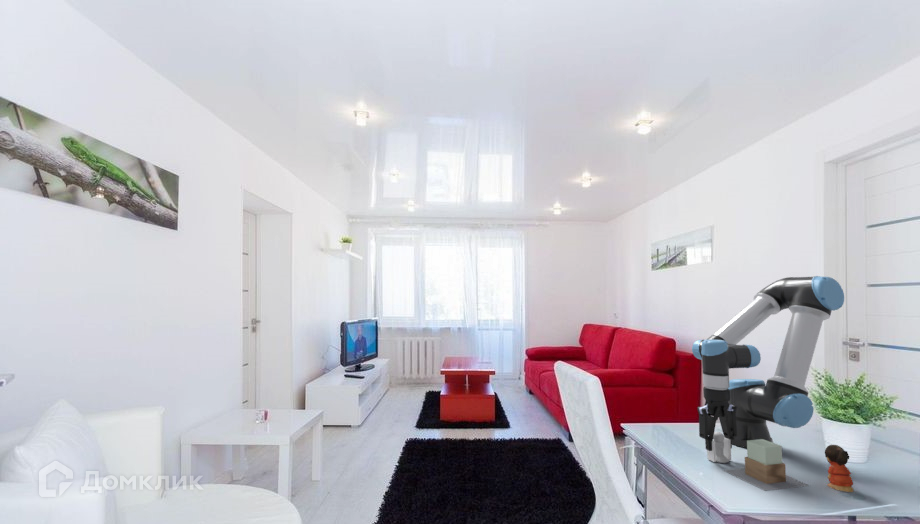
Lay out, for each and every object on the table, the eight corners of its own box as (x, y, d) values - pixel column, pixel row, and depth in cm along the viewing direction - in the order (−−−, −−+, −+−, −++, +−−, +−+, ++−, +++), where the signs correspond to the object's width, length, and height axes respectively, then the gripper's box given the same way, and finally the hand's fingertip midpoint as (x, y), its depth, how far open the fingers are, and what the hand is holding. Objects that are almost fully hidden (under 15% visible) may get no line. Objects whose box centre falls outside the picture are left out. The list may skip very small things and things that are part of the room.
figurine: (860, 493, 120) (858, 448, 121) (846, 495, 118) (844, 450, 119) (835, 483, 126) (833, 441, 127) (821, 485, 124) (819, 442, 125)
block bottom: (763, 471, 133) (763, 455, 133) (785, 481, 126) (785, 463, 126) (745, 473, 131) (744, 456, 131) (766, 483, 124) (766, 465, 124)
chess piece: (706, 458, 143) (705, 430, 144) (718, 456, 145) (717, 429, 145) (720, 464, 138) (719, 435, 139) (732, 462, 140) (731, 434, 140)
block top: (763, 455, 132) (762, 439, 133) (782, 463, 126) (781, 445, 127) (747, 457, 131) (746, 440, 131) (765, 465, 125) (765, 447, 125)
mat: (765, 467, 137) (765, 466, 137) (810, 486, 123) (810, 485, 123) (723, 471, 133) (723, 470, 133) (765, 492, 120) (765, 490, 120)
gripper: (729, 383, 149) (732, 452, 147) (684, 386, 144) (687, 458, 143) (748, 388, 141) (752, 461, 140) (701, 391, 137) (704, 466, 135)
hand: (719, 459), depth 141 cm, fingers closed on chess piece, 5 cm apart
